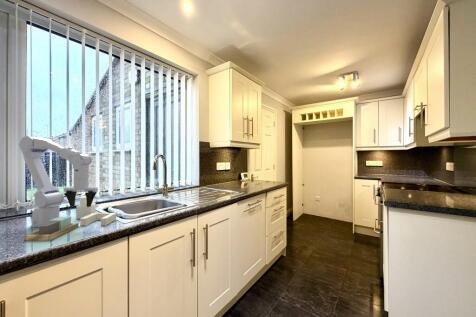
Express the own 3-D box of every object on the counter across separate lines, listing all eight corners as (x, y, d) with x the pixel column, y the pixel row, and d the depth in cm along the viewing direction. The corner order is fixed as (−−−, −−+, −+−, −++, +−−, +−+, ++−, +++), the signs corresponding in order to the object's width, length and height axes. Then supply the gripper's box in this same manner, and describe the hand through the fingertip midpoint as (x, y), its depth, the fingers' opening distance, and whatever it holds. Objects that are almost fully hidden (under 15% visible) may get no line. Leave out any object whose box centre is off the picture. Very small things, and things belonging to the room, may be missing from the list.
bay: (80, 225, 100) (80, 218, 100) (92, 219, 110) (93, 213, 110) (106, 225, 101) (106, 218, 101) (116, 219, 111) (116, 212, 111)
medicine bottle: (80, 215, 116) (81, 194, 116) (95, 214, 119) (96, 194, 119) (75, 219, 110) (76, 197, 110) (91, 218, 112) (92, 196, 112)
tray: (23, 240, 81) (24, 235, 81) (56, 227, 97) (56, 222, 97) (51, 240, 82) (51, 235, 82) (78, 227, 98) (78, 222, 98)
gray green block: (36, 237, 84) (36, 225, 84) (59, 227, 96) (59, 216, 96) (49, 237, 84) (49, 224, 84) (70, 227, 96) (71, 216, 96)
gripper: (58, 179, 95) (58, 208, 95) (91, 179, 96) (91, 208, 96) (70, 177, 102) (69, 205, 102) (100, 178, 103) (100, 205, 103)
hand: (80, 206), depth 99 cm, fingers open, 7 cm apart
